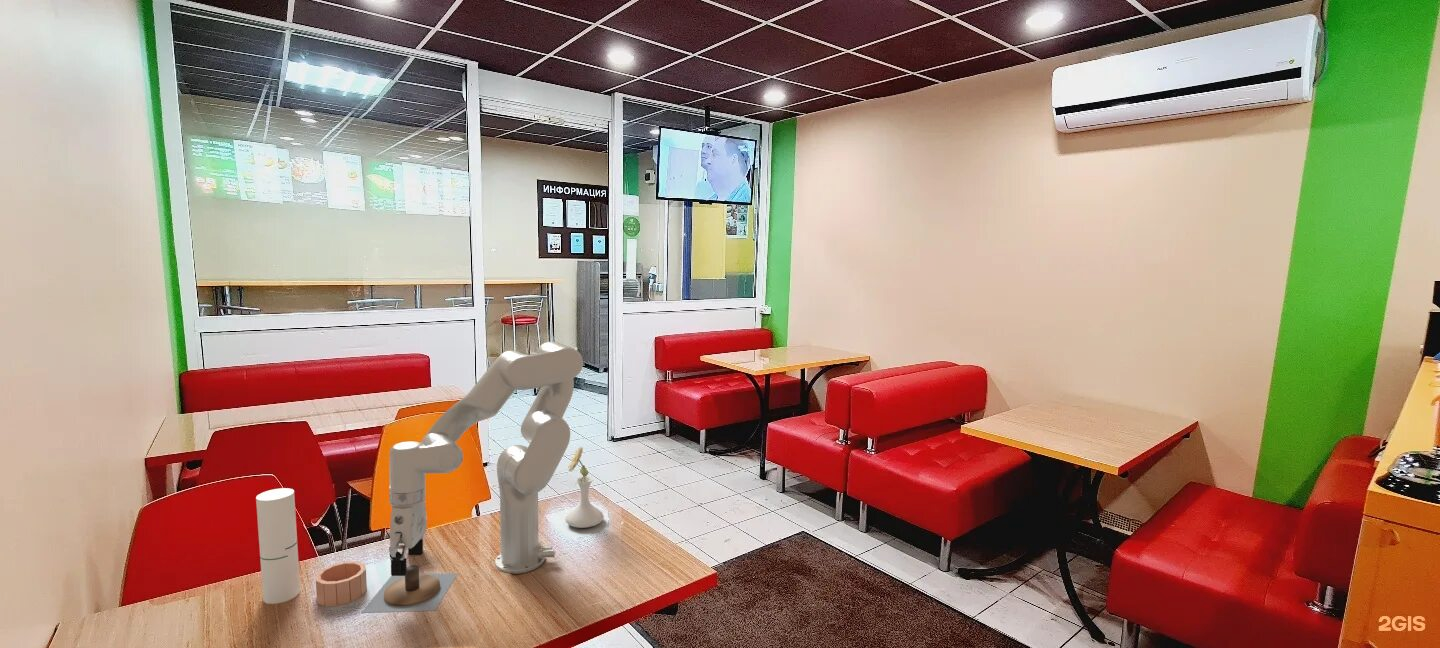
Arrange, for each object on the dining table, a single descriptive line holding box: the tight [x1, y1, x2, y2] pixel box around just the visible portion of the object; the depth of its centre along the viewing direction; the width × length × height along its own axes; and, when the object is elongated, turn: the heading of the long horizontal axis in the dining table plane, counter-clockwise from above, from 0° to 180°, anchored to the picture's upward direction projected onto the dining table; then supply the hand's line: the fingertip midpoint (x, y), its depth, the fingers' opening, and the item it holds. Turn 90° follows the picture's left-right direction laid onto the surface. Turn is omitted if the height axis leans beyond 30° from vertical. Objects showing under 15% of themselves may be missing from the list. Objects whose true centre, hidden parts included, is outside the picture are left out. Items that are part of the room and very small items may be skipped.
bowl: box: [315, 560, 368, 607], centre depth 145 cm, size 10×10×6 cm
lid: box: [384, 564, 440, 606], centre depth 147 cm, size 12×12×6 cm
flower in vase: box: [565, 446, 605, 529], centre depth 185 cm, size 13×11×25 cm
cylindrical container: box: [255, 487, 301, 605], centre depth 144 cm, size 7×7×25 cm
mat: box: [361, 572, 459, 614], centre depth 147 cm, size 16×16×1 cm
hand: (407, 564), depth 146 cm, fingers open, 9 cm apart
